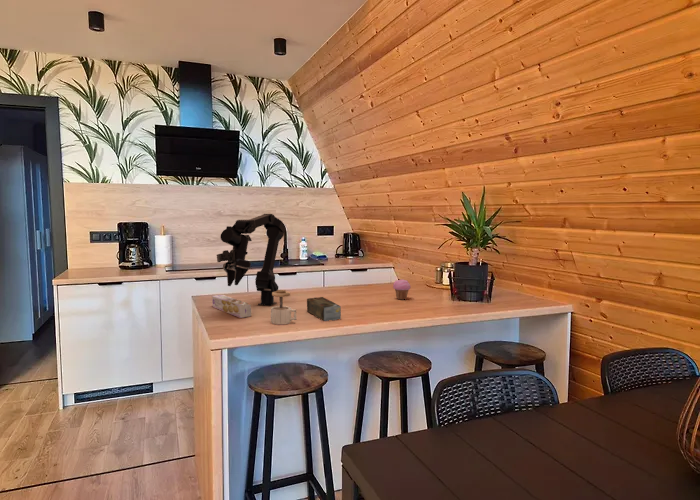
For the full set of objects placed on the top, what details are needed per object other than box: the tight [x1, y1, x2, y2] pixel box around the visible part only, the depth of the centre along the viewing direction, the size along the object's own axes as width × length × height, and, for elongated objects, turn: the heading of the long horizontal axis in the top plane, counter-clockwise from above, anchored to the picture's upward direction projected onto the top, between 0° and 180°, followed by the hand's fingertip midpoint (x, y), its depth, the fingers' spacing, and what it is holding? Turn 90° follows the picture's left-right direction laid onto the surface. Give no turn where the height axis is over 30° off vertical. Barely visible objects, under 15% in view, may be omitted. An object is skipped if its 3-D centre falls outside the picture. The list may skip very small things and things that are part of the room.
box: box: [211, 294, 252, 319], centre depth 195 cm, size 27×5×6 cm, turn 40°
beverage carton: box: [306, 296, 342, 322], centre depth 191 cm, size 8×19×7 cm, turn 26°
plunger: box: [272, 289, 291, 308], centre depth 178 cm, size 7×7×7 cm
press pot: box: [270, 305, 297, 326], centre depth 179 cm, size 10×8×6 cm
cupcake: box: [392, 278, 411, 300], centre depth 229 cm, size 9×9×10 cm
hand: (232, 285), depth 186 cm, fingers open, 9 cm apart
